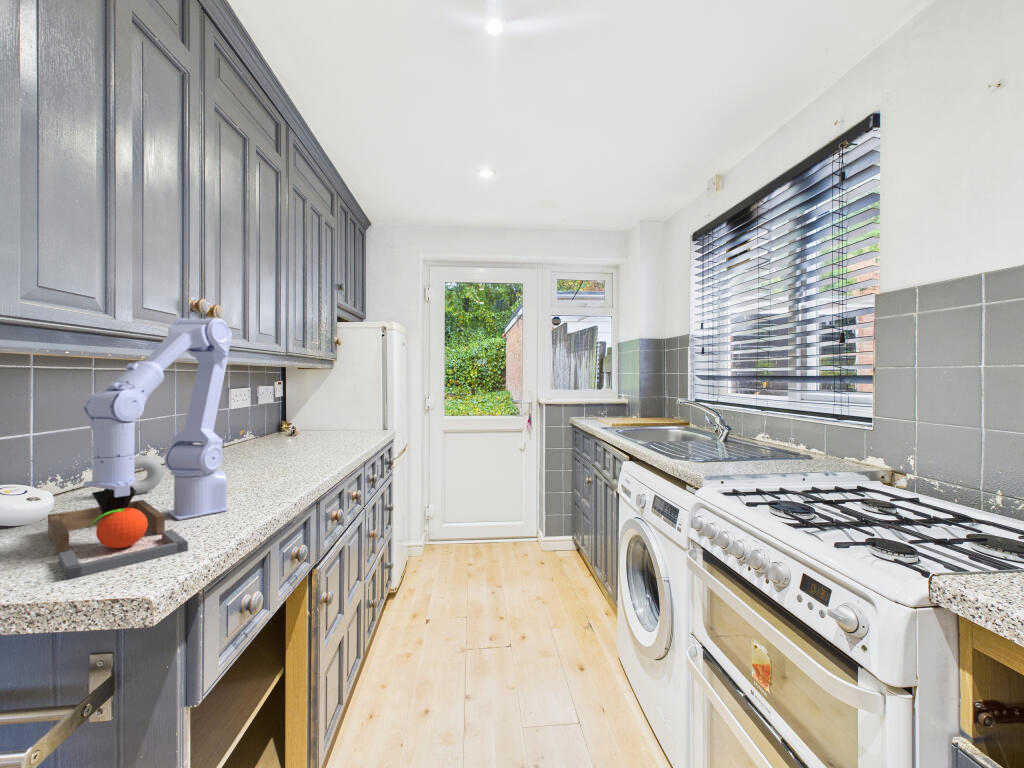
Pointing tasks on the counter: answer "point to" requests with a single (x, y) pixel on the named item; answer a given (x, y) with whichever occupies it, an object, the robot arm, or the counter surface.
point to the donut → (148, 474)
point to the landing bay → (122, 557)
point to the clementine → (121, 527)
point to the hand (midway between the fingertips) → (113, 528)
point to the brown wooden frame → (85, 517)
